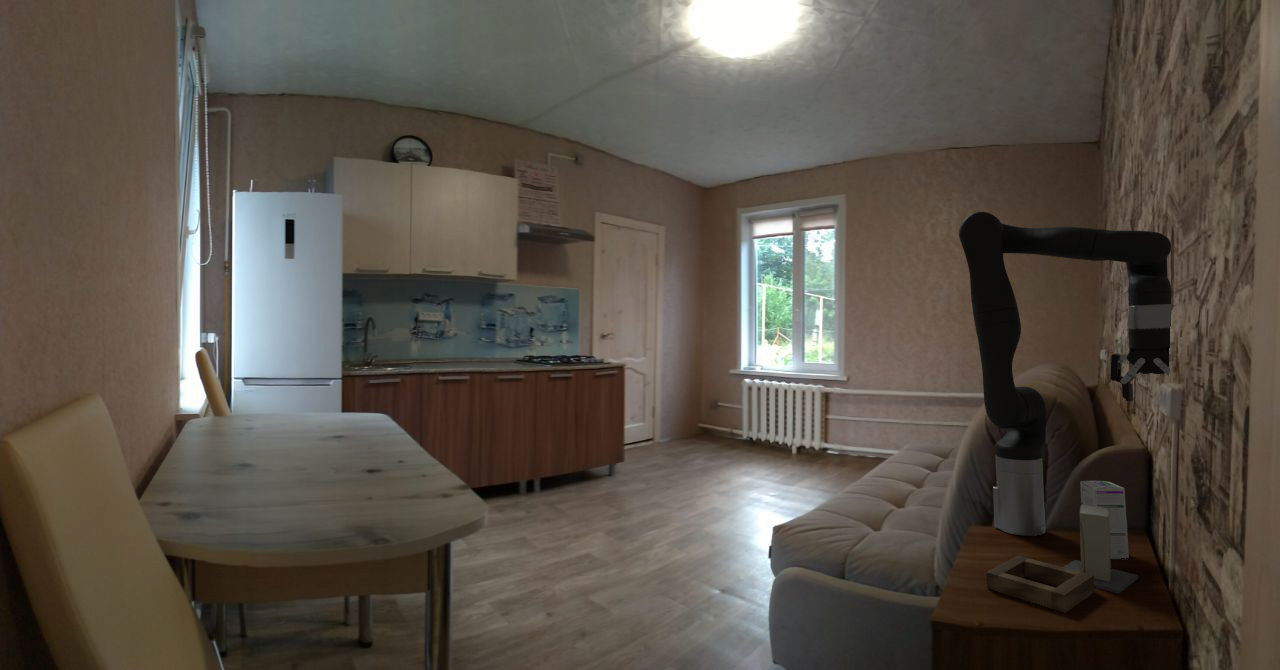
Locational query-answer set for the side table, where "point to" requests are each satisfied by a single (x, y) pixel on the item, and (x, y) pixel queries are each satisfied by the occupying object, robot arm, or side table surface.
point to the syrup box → (1115, 501)
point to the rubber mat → (1117, 579)
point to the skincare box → (1095, 541)
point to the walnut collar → (1060, 598)
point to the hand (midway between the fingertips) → (1154, 402)
